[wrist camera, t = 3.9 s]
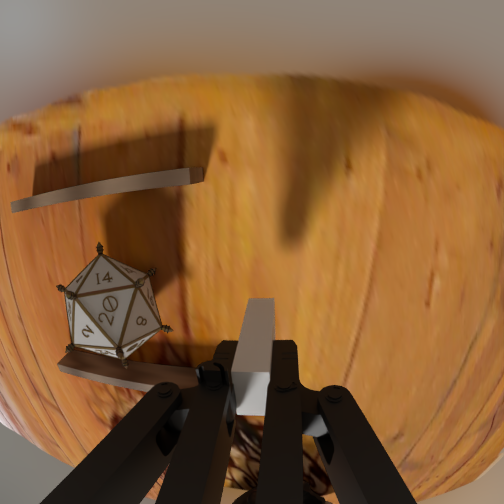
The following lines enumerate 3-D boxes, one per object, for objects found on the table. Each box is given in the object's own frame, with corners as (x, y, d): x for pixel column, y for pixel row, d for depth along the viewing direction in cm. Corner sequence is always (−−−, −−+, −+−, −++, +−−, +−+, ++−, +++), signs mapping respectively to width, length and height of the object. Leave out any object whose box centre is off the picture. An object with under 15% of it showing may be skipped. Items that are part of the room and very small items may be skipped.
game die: (139, 254, 25) (72, 205, 16) (207, 303, 23) (147, 267, 14) (93, 330, 23) (14, 309, 14) (153, 387, 21) (72, 396, 12)
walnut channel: (74, 356, 26) (60, 371, 23) (31, 197, 21) (10, 202, 18) (226, 377, 24) (220, 400, 21) (202, 167, 19) (189, 167, 16)
